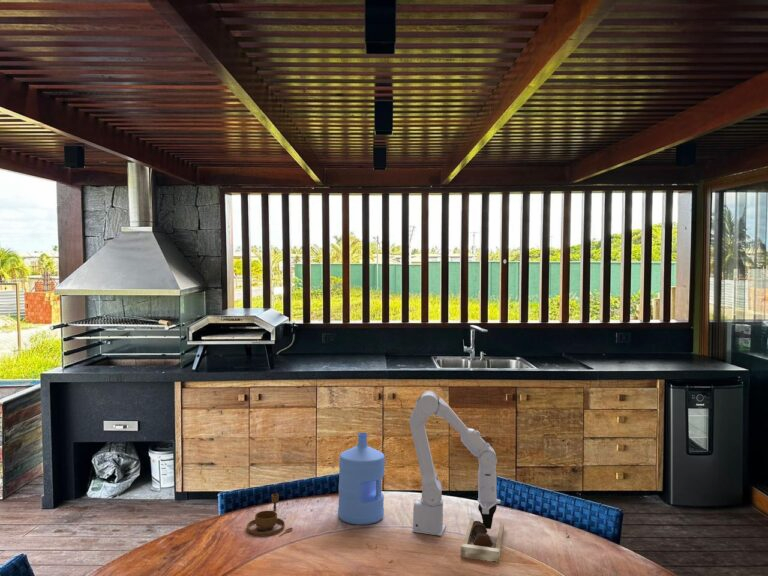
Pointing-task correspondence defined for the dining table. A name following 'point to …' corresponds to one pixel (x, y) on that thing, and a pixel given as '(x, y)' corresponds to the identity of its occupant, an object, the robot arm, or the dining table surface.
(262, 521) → the place setting
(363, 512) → the water jug
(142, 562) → the dining table surface
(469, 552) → the guide channel
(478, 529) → the bolt
